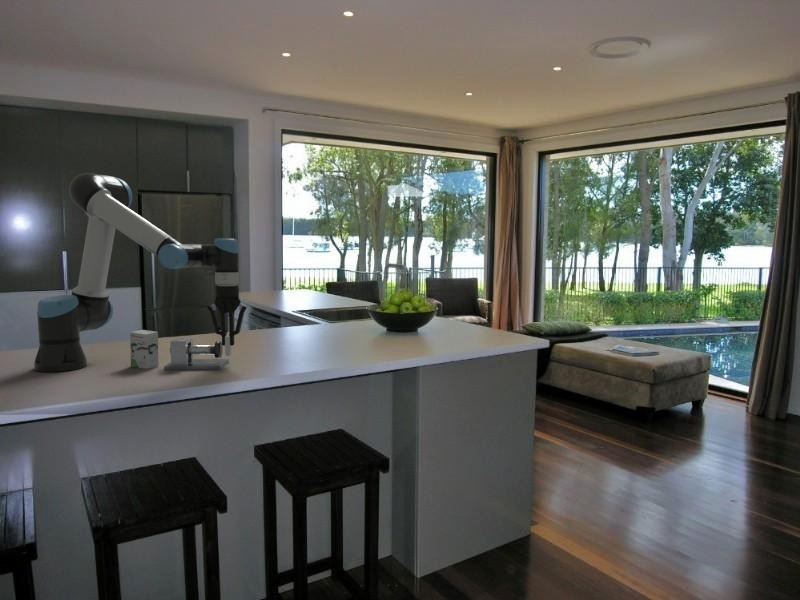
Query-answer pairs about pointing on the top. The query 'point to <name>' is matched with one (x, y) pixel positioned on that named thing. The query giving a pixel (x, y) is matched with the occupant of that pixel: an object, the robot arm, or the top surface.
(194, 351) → the shaft
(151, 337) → the ink box
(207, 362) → the rail
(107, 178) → the robot arm
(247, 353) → the top surface
